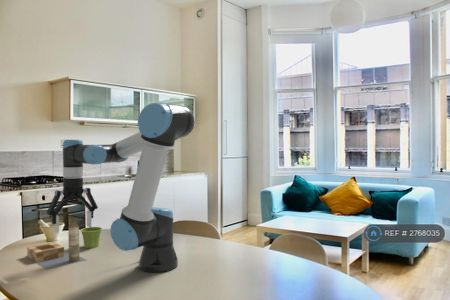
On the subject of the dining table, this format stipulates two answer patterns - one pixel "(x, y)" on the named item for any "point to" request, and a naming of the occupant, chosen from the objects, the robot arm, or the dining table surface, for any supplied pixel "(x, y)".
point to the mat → (57, 261)
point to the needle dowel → (73, 242)
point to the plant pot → (91, 236)
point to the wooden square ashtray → (45, 252)
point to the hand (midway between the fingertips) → (73, 229)
